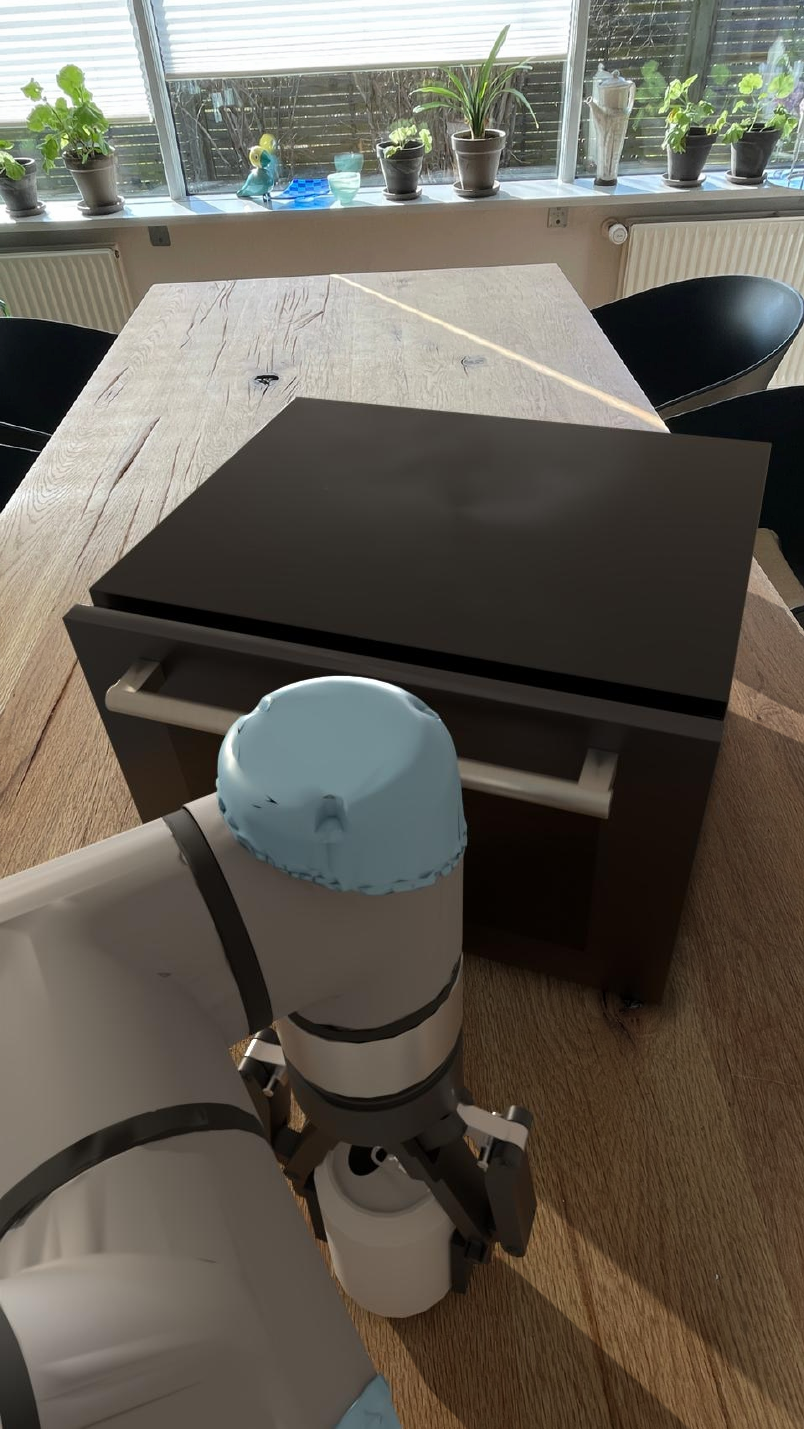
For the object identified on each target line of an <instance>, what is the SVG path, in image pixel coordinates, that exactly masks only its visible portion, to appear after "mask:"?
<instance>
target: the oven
mask: <svg viewBox="0 0 804 1429" xmlns="http://www.w3.org/2000/svg"><path fill="white" fill-rule="evenodd" d="M771 449H772V442H765V441H755V440H754V441H753V440H744V439H736V438H735V439H734V438H726V437H725V438H723V437H714V436H704V435H696V434H695V435H693V434H685V433H684V434H683V433H673V432H663V431H654V430H643V429H633V428H623V427H612V426H601V425H600V426H599V425H591V424H582V423H581V424H580V423H571V422H562V421H549V420H540V419H531V418H530V419H529V418H520V417H509V416H499V415H489V414H480V413H469V412H458V411H449V410H437V409H427V408H419V407H417V408H416V407H408V406H396V405H387V404H378V403H367V402H357V401H347V400H338V399H337V400H336V399H327V398H316V397H307V396H306V397H304V396H295V397H293V399H291V400H290V402H288V403H287V404H286V405H285V406H284V407H283V408H282V409H280V411H279V412H278V413H276V414H275V415H274V416H273V417H272V418H271V419H270V420H269V421H268V422H267V423H266V424H264V425H263V427H261V428H260V429H259V430H258V431H257V432H256V433H255V434H254V435H253V436H252V437H251V438H250V439H248V440H247V441H246V442H245V443H244V444H243V445H242V446H240V448H238V450H236V451H235V452H234V453H233V454H232V455H231V456H230V457H229V458H228V459H227V460H226V461H225V462H223V463H222V464H221V466H219V467H218V468H217V469H216V470H215V471H214V472H212V474H211V475H209V476H208V477H207V478H206V479H205V480H204V481H203V482H202V483H201V484H200V485H199V486H197V488H195V489H194V490H193V491H192V492H191V493H190V494H189V495H188V496H187V497H186V498H185V499H183V501H181V502H180V503H179V504H178V506H176V507H175V508H174V509H173V510H172V511H171V512H169V513H168V514H167V515H166V516H165V518H163V519H162V520H161V521H160V522H158V524H156V526H154V527H153V528H152V529H151V530H150V531H149V532H148V533H147V534H146V535H145V536H144V537H143V538H142V539H141V540H140V541H138V542H137V543H136V544H135V545H134V546H133V547H132V548H131V549H129V551H128V552H126V553H125V554H124V555H123V556H122V557H121V558H120V559H119V560H118V561H116V563H114V564H113V565H112V566H111V567H110V568H109V569H108V570H107V571H106V572H105V573H104V574H103V575H101V577H100V578H98V580H96V581H95V582H94V583H93V584H92V585H91V586H90V587H89V588H88V593H89V597H90V599H91V602H92V604H93V605H92V606H94V607H99V608H105V609H110V610H116V611H121V612H127V613H132V614H138V615H143V616H149V617H154V618H160V619H165V620H171V621H176V622H182V623H187V624H193V625H198V626H204V627H209V628H215V629H220V630H226V631H231V632H237V633H242V634H248V635H253V636H259V637H264V638H270V639H275V640H281V641H286V642H292V643H297V644H303V645H308V646H314V647H319V648H324V649H330V650H335V651H341V652H346V653H352V654H357V655H363V656H368V657H374V658H379V659H385V660H390V661H396V662H401V663H407V664H412V665H418V666H423V667H429V668H434V669H440V670H445V671H451V672H456V673H462V674H467V675H473V676H478V677H484V678H489V679H495V680H500V681H506V682H511V683H517V684H522V685H528V686H533V687H539V688H544V689H550V690H555V691H561V692H566V693H572V694H577V695H583V696H588V697H594V698H599V699H605V700H610V701H615V702H621V703H626V704H632V705H637V706H643V707H648V708H654V709H659V710H665V711H670V712H676V713H681V714H687V715H692V716H698V717H703V718H709V719H714V720H720V721H724V722H725V721H726V716H727V712H728V708H729V704H730V697H731V692H732V686H733V679H734V673H735V667H736V662H737V655H738V649H739V643H740V638H741V631H742V626H743V619H744V612H745V607H746V601H747V596H748V589H749V583H750V577H751V570H752V566H753V558H754V553H755V546H756V540H757V536H758V534H757V533H758V530H759V529H758V528H759V523H760V516H761V510H762V503H763V497H764V492H765V486H766V481H767V474H768V467H769V461H770V457H771V456H770V455H771ZM725 723H726V722H725Z"/></svg>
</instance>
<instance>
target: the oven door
mask: <svg viewBox="0 0 804 1429" xmlns="http://www.w3.org/2000/svg"><path fill="white" fill-rule="evenodd" d="M61 619H62V622H63V624H64V627H65V630H66V633H67V635H68V637H69V640H70V642H71V645H72V647H73V650H74V652H75V655H76V658H77V660H78V663H79V665H80V669H81V671H82V673H83V675H84V678H85V680H86V683H87V686H88V688H89V691H90V693H91V695H92V698H93V701H94V703H95V706H96V708H97V711H98V714H99V716H100V719H101V722H102V724H103V726H104V729H105V732H106V735H107V737H108V739H109V742H110V744H111V746H112V750H113V752H114V755H115V758H116V760H117V762H118V765H119V768H120V770H121V772H122V775H123V778H124V780H125V783H126V785H127V788H128V790H129V793H130V796H131V799H132V802H133V803H134V806H135V809H136V811H137V813H138V816H139V818H140V821H141V825H143V824H146V823H148V822H151V821H154V820H156V819H159V818H161V817H164V816H166V815H169V814H171V813H174V812H177V811H179V810H181V807H182V806H183V805H185V804H187V803H190V802H192V801H195V800H197V799H200V798H202V797H205V796H208V795H210V794H213V793H215V792H217V787H216V780H217V778H218V757H219V752H220V749H221V746H222V743H223V741H224V739H225V737H226V735H227V732H228V731H229V729H230V728H231V727H232V725H233V724H234V723H235V722H236V721H237V720H238V719H239V718H240V717H242V716H245V715H249V714H250V713H251V712H252V711H253V710H254V709H255V708H256V707H257V706H258V704H259V703H260V701H261V699H262V698H263V697H265V696H266V695H268V694H270V693H272V692H274V691H276V690H278V689H280V688H283V687H285V686H288V685H291V684H294V683H297V682H300V681H305V680H310V679H315V678H321V677H331V676H351V677H362V678H368V679H373V680H378V681H381V682H385V683H388V684H391V685H394V686H397V687H399V688H401V689H403V690H405V691H407V692H408V693H410V694H412V695H414V696H415V697H417V698H418V699H420V700H421V701H422V702H424V703H425V704H426V705H427V706H428V707H429V708H430V709H431V710H433V711H434V712H435V713H437V714H438V716H439V718H440V719H441V721H442V722H443V724H444V725H445V726H446V728H447V730H448V732H449V734H450V735H451V738H452V741H453V744H454V747H455V751H456V756H457V764H458V770H459V772H460V781H461V792H462V803H463V813H464V818H465V821H466V824H467V833H466V835H467V846H465V851H464V855H463V917H462V953H465V954H469V955H471V956H472V955H473V956H476V957H480V958H484V959H488V960H491V961H494V962H498V963H502V964H506V965H509V966H513V967H517V968H520V969H523V970H528V971H530V972H531V971H532V972H535V973H539V974H543V975H546V976H550V977H554V978H556V979H561V980H565V981H569V982H572V983H576V984H579V985H583V986H587V987H590V988H594V989H598V990H601V991H604V992H608V993H613V994H615V995H620V996H622V997H623V996H624V997H627V998H631V999H634V1000H638V1001H642V1002H645V1003H649V1004H653V1005H657V1006H662V1005H663V1002H664V997H665V993H666V989H667V984H668V981H669V980H668V979H669V976H670V972H671V966H672V963H673V958H674V955H675V954H674V953H675V949H676V945H677V940H678V937H679V931H680V928H681V923H682V919H683V914H684V910H685V907H686V901H687V896H688V894H689V888H690V884H691V879H692V875H693V871H694V866H695V862H696V858H697V853H698V849H699V844H700V840H701V835H702V832H703V828H704V822H705V819H706V813H707V809H708V805H709V801H710V797H711V792H712V788H713V784H714V779H715V775H716V771H717V767H718V763H719V757H720V754H721V748H722V744H723V740H724V734H725V728H726V722H724V721H720V720H714V719H709V718H703V717H698V716H692V715H687V714H681V713H676V712H670V711H665V710H659V709H654V708H648V707H643V706H637V705H632V704H626V703H621V702H615V701H610V700H605V699H599V698H594V697H588V696H583V695H577V694H572V693H566V692H561V691H555V690H550V689H544V688H539V687H533V686H528V685H522V684H517V683H511V682H506V681H500V680H495V679H489V678H484V677H478V676H473V675H467V674H462V673H456V672H451V671H445V670H440V669H434V668H429V667H423V666H418V665H412V664H407V663H401V662H396V661H390V660H385V659H379V658H374V657H368V656H363V655H357V654H352V653H346V652H341V651H335V650H330V649H324V648H319V647H314V646H308V645H303V644H297V643H292V642H286V641H281V640H275V639H270V638H264V637H259V636H253V635H248V634H242V633H237V632H231V631H226V630H220V629H215V628H209V627H204V626H198V625H193V624H187V623H182V622H176V621H171V620H165V619H160V618H154V617H149V616H143V615H138V614H132V613H127V612H121V611H116V610H110V609H105V608H99V607H94V606H93V605H89V604H82V603H74V604H73V605H72V606H71V608H69V609H68V610H67V611H66V612H65V614H63V615H62V616H61Z"/></svg>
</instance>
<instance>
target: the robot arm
mask: <svg viewBox="0 0 804 1429" xmlns="http://www.w3.org/2000/svg"><path fill="white" fill-rule="evenodd" d="M216 787H217V792H215V793H213V794H210V795H208V796H205V797H202V798H200V799H197V800H195V801H192V802H190V803H187V804H185V805H183V806H182V807H181V810H179V811H177V812H174V813H171V814H169V815H166V816H164V817H161V818H159V819H156V820H154V821H151V822H148V823H146V824H140V825H138V826H135V827H133V828H130V829H128V830H125V831H123V832H119V833H118V834H115V835H112V836H110V837H107V838H104V839H102V840H99V841H96V842H94V843H92V844H88V845H86V846H84V847H81V848H78V849H76V850H73V851H71V852H67V853H65V854H63V855H61V856H57V857H55V858H52V859H49V860H47V861H45V862H42V863H39V864H37V865H35V866H31V867H29V868H27V869H23V870H21V871H19V872H16V873H14V874H10V875H8V876H5V877H3V878H0V1429H403V1427H402V1424H401V1423H400V1420H399V1418H398V1414H397V1412H396V1409H395V1407H394V1405H393V1401H392V1398H393V1397H392V1396H393V1391H392V1390H391V1385H390V1382H389V1381H388V1380H387V1378H386V1377H385V1376H384V1374H383V1373H382V1371H380V1372H379V1373H378V1372H377V1369H376V1367H375V1365H374V1363H373V1361H372V1359H371V1356H370V1355H369V1353H368V1351H367V1348H366V1346H365V1344H364V1342H363V1339H362V1337H361V1336H360V1334H359V1331H358V1329H357V1327H356V1325H355V1323H354V1320H353V1318H352V1316H351V1313H350V1312H349V1310H348V1308H347V1306H346V1304H345V1301H344V1299H343V1297H342V1295H341V1293H340V1291H339V1289H338V1287H337V1284H336V1282H335V1280H334V1278H333V1276H332V1275H331V1274H332V1273H331V1272H330V1269H329V1268H328V1267H329V1266H327V1264H326V1261H325V1259H324V1257H323V1255H322V1253H321V1250H320V1249H319V1248H320V1247H318V1244H317V1242H316V1240H315V1239H317V1240H319V1241H321V1242H324V1243H326V1244H328V1240H327V1235H326V1231H325V1227H324V1222H323V1218H322V1214H321V1210H320V1205H319V1201H318V1196H317V1191H316V1186H315V1180H314V1172H315V1167H316V1165H317V1164H318V1163H319V1162H320V1160H321V1159H322V1158H323V1157H324V1155H325V1154H326V1153H327V1152H328V1151H329V1150H331V1151H333V1149H334V1148H335V1147H336V1146H337V1144H338V1143H339V1142H340V1141H342V1142H345V1143H348V1144H352V1145H356V1146H364V1147H381V1146H382V1147H383V1149H384V1150H385V1151H386V1153H388V1154H393V1155H394V1156H395V1157H396V1159H397V1160H398V1161H399V1163H400V1164H401V1166H402V1167H403V1168H404V1170H405V1171H406V1173H407V1174H408V1175H409V1177H410V1178H411V1179H414V1180H420V1181H424V1182H425V1184H426V1185H427V1186H428V1188H429V1189H430V1191H431V1192H432V1194H433V1195H434V1196H435V1198H436V1199H437V1201H438V1202H439V1203H440V1205H441V1206H442V1208H443V1209H444V1211H445V1212H446V1213H447V1215H448V1216H449V1218H450V1219H451V1221H452V1222H453V1223H454V1225H455V1226H456V1228H455V1230H454V1234H453V1237H452V1240H451V1271H452V1286H451V1291H452V1292H455V1293H457V1294H459V1295H462V1296H465V1297H466V1296H467V1291H468V1288H469V1284H470V1282H471V1277H472V1274H473V1270H474V1266H479V1267H482V1266H484V1265H485V1266H488V1265H490V1264H491V1263H492V1260H493V1256H494V1253H495V1248H496V1245H497V1243H499V1244H500V1245H499V1246H500V1248H501V1250H502V1251H504V1252H505V1253H506V1254H507V1255H509V1256H511V1257H513V1258H514V1257H515V1258H517V1259H520V1258H525V1257H526V1254H527V1249H528V1246H529V1242H530V1238H531V1234H532V1230H533V1226H534V1223H535V1222H534V1221H535V1217H536V1212H537V1208H538V1201H537V1196H536V1189H535V1186H534V1180H533V1174H532V1170H531V1163H530V1158H529V1154H528V1153H529V1152H528V1147H527V1144H528V1140H529V1138H530V1137H529V1136H530V1133H531V1129H532V1125H533V1121H534V1114H533V1113H532V1112H531V1111H530V1110H529V1109H527V1108H525V1107H524V1106H521V1105H517V1104H516V1105H515V1104H513V1105H509V1106H508V1107H506V1109H505V1111H504V1114H502V1113H501V1112H498V1111H493V1112H490V1111H487V1110H485V1109H483V1108H480V1107H478V1106H476V1105H475V1098H474V1096H473V1094H472V1092H471V1090H470V1089H469V1088H468V1087H467V1086H466V1084H465V1083H464V1017H463V996H464V994H463V993H464V992H463V990H464V989H463V986H464V985H463V984H464V982H463V980H464V978H463V977H464V953H463V952H462V917H463V855H464V851H465V846H467V835H466V833H467V824H466V821H465V818H464V813H463V803H462V792H461V781H460V772H459V770H458V764H457V756H456V751H455V747H454V744H453V741H452V738H451V735H450V734H449V732H448V730H447V728H446V726H445V725H444V724H443V722H442V721H441V719H440V718H439V716H438V714H437V713H435V712H434V711H433V710H431V709H430V708H429V707H428V706H427V705H426V704H425V703H424V702H422V701H421V700H420V699H418V698H417V697H415V696H414V695H412V694H410V693H408V692H407V691H405V690H403V689H401V688H399V687H397V686H394V685H391V684H388V683H385V682H381V681H378V680H373V679H368V678H362V677H351V676H331V677H321V678H315V679H310V680H305V681H300V682H297V683H294V684H291V685H288V686H285V687H283V688H280V689H278V690H276V691H274V692H272V693H270V694H268V695H266V696H265V697H263V698H262V699H261V701H260V703H259V704H258V706H257V707H256V708H255V709H254V710H253V711H252V712H251V713H250V714H249V715H245V716H242V717H240V718H239V719H238V720H237V721H236V722H235V723H234V724H233V725H232V727H231V728H230V729H229V731H228V732H227V735H226V737H225V739H224V741H223V743H222V746H221V749H220V752H219V757H218V778H217V780H216ZM273 1023H274V1025H275V1029H276V1030H275V1029H274V1028H273V1027H271V1026H273ZM251 1036H252V1038H251V1039H250V1041H249V1043H248V1045H247V1046H246V1049H244V1050H245V1051H244V1052H243V1054H242V1056H241V1059H240V1060H239V1063H238V1064H237V1065H236V1062H235V1060H234V1057H233V1056H232V1052H231V1051H230V1048H232V1047H233V1046H235V1045H237V1044H239V1043H241V1042H243V1041H244V1040H246V1039H249V1038H250V1037H251ZM292 1095H293V1098H294V1100H295V1102H296V1104H297V1106H298V1107H299V1109H300V1110H301V1112H302V1113H303V1115H304V1116H305V1117H306V1118H305V1120H304V1123H303V1125H302V1127H301V1130H300V1132H299V1131H297V1130H295V1129H294V1128H292V1127H289V1125H290V1123H291V1116H292V1115H291V1112H292V1111H291V1108H292V1107H291V1106H292ZM465 1136H467V1137H468V1138H470V1139H471V1140H472V1141H473V1142H474V1148H475V1150H477V1151H478V1152H479V1154H478V1157H476V1155H475V1154H474V1152H473V1151H472V1149H471V1148H470V1146H469V1144H468V1143H467V1141H466V1140H465V1138H464V1137H465ZM281 1165H282V1166H284V1167H283V1169H282V1168H281ZM287 1179H288V1180H290V1182H291V1186H292V1189H293V1191H292V1190H291V1187H290V1184H289V1183H288V1181H287ZM293 1192H294V1193H295V1194H296V1195H297V1196H298V1197H300V1198H302V1199H305V1203H306V1206H307V1210H308V1214H309V1217H310V1222H311V1226H312V1229H313V1233H314V1236H313V1234H312V1232H311V1229H310V1228H309V1225H308V1223H307V1220H306V1219H305V1216H304V1214H303V1212H302V1211H301V1208H300V1206H299V1203H298V1201H297V1200H296V1197H295V1196H294V1193H293Z"/></svg>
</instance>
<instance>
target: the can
mask: <svg viewBox="0 0 804 1429" xmlns="http://www.w3.org/2000/svg"><path fill="white" fill-rule="evenodd" d="M314 1180H315V1186H316V1191H317V1196H318V1201H319V1205H320V1210H321V1214H322V1218H323V1222H324V1227H325V1231H326V1235H327V1240H328V1243H327V1245H328V1248H329V1252H330V1257H331V1262H332V1266H333V1269H334V1273H335V1274H334V1275H335V1276H336V1278H337V1279H338V1281H339V1283H340V1285H341V1288H342V1289H343V1291H344V1292H345V1294H346V1295H347V1296H348V1297H349V1298H351V1300H353V1302H354V1303H356V1304H357V1305H358V1306H359V1307H360V1308H361V1309H363V1310H365V1311H368V1312H370V1313H373V1314H375V1315H377V1316H379V1317H382V1318H398V1319H399V1318H400V1319H402V1318H403V1319H405V1318H408V1317H411V1316H414V1315H417V1314H420V1313H424V1312H426V1311H428V1310H429V1309H431V1308H432V1307H433V1306H434V1305H436V1304H437V1303H438V1302H439V1301H441V1300H442V1299H444V1297H445V1296H446V1295H447V1293H448V1291H449V1290H450V1289H451V1288H452V1271H451V1240H452V1237H453V1234H454V1230H455V1228H456V1226H455V1225H454V1223H453V1222H452V1221H451V1219H450V1218H449V1216H448V1215H447V1213H446V1212H445V1211H444V1209H443V1208H442V1206H441V1205H440V1203H439V1202H438V1201H437V1199H436V1198H435V1196H434V1195H433V1194H432V1192H431V1191H430V1189H429V1188H428V1186H427V1185H426V1184H425V1182H424V1181H420V1180H414V1179H411V1178H410V1177H409V1175H408V1174H407V1173H406V1171H405V1170H404V1168H403V1167H402V1166H401V1164H400V1163H399V1161H398V1160H397V1159H396V1157H395V1156H394V1155H393V1154H388V1153H386V1151H385V1150H384V1149H383V1147H382V1146H381V1147H364V1146H356V1145H352V1144H348V1143H345V1142H342V1141H340V1142H339V1143H338V1144H337V1146H336V1147H335V1148H334V1149H333V1151H331V1150H329V1151H328V1152H327V1153H326V1154H325V1155H324V1157H323V1158H322V1159H321V1160H320V1162H319V1163H318V1164H317V1165H316V1167H315V1172H314Z"/></svg>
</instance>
